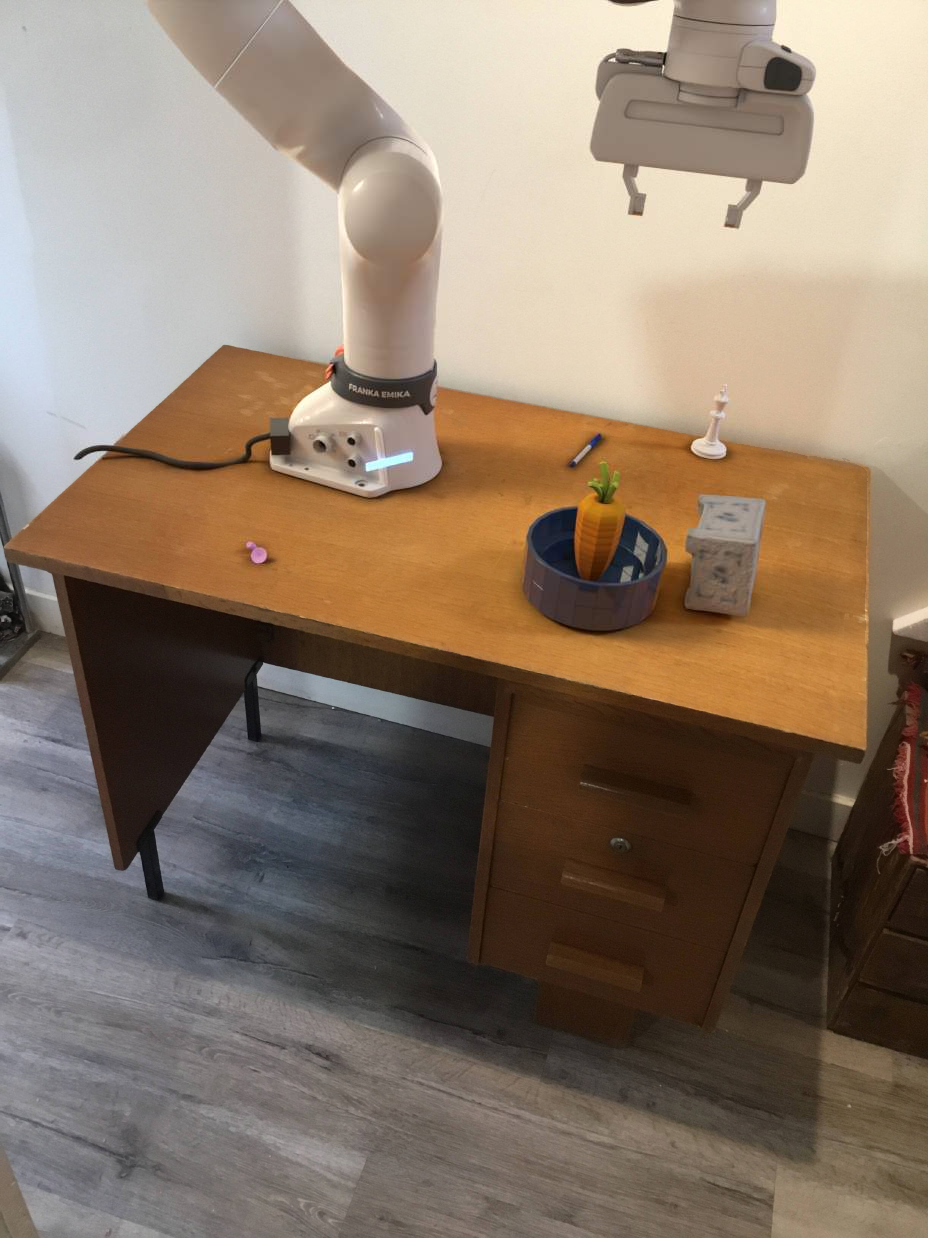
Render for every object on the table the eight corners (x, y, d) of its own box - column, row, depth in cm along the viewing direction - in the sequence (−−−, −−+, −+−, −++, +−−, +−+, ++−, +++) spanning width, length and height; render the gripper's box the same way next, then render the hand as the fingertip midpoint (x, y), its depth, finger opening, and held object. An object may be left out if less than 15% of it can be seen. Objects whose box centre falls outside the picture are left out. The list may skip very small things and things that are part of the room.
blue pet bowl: (527, 633, 95) (534, 583, 91) (514, 551, 106) (520, 503, 102) (668, 636, 96) (681, 587, 92) (640, 554, 108) (651, 507, 104)
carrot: (608, 604, 99) (632, 484, 89) (562, 596, 99) (582, 476, 90) (611, 578, 102) (635, 460, 93) (568, 570, 103) (587, 452, 94)
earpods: (263, 569, 103) (274, 558, 103) (258, 566, 101) (269, 555, 101) (246, 551, 104) (257, 540, 104) (241, 547, 102) (252, 536, 102)
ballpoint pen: (596, 436, 131) (597, 430, 130) (601, 438, 130) (603, 432, 130) (569, 467, 123) (570, 460, 122) (575, 469, 123) (576, 462, 122)
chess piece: (730, 449, 130) (748, 383, 124) (718, 462, 126) (736, 395, 120) (698, 438, 132) (714, 373, 125) (685, 451, 128) (701, 385, 122)
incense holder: (682, 560, 107) (702, 483, 101) (753, 577, 105) (778, 500, 99) (667, 607, 100) (688, 527, 93) (744, 627, 98) (770, 547, 91)
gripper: (596, 49, 80) (574, 214, 89) (834, 74, 77) (788, 242, 86) (604, 41, 85) (583, 198, 94) (828, 64, 82) (785, 224, 91)
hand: (683, 220), depth 90 cm, fingers open, 8 cm apart
